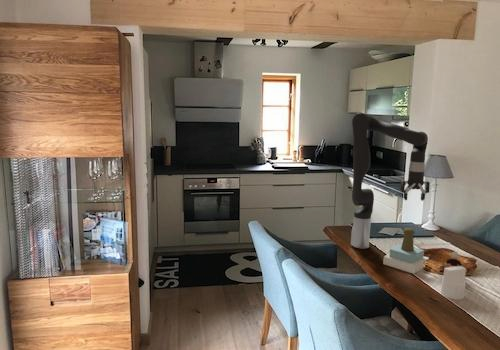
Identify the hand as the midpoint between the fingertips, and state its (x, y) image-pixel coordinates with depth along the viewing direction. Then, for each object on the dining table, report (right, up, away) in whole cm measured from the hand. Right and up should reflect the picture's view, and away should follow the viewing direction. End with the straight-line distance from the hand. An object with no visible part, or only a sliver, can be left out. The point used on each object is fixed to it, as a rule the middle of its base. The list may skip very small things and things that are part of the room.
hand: (413, 200), depth 216 cm
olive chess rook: (-8, -24, -11) cm, 28 cm away
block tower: (-8, -32, -9) cm, 34 cm away
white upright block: (0, -38, -41) cm, 56 cm away
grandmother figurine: (+8, -35, -24) cm, 43 cm away
